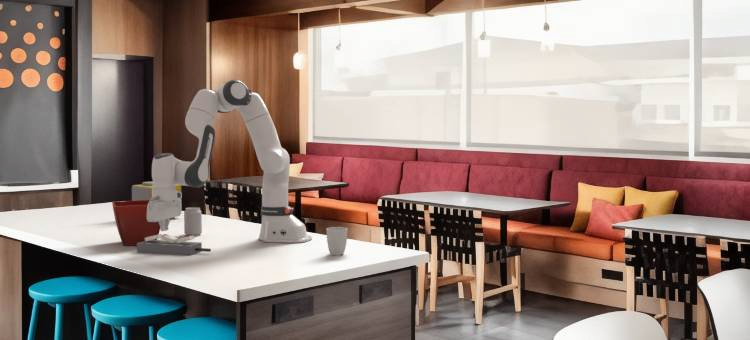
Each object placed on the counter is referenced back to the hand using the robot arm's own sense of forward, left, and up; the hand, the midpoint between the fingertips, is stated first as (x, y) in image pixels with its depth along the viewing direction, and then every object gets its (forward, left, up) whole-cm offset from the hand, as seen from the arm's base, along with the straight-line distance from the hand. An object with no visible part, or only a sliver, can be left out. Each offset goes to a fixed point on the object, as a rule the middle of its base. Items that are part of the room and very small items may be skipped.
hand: (164, 230), depth 333 cm
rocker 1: (+5, 0, -3) cm, 6 cm away
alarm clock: (+53, -83, -8) cm, 99 cm away
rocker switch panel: (-5, 0, -8) cm, 10 cm away
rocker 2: (-2, 0, -3) cm, 4 cm away
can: (+10, -41, -8) cm, 43 cm away
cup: (-66, -14, -8) cm, 68 cm away
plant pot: (+21, -15, -8) cm, 27 cm away
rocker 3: (-9, 0, -3) cm, 10 cm away
